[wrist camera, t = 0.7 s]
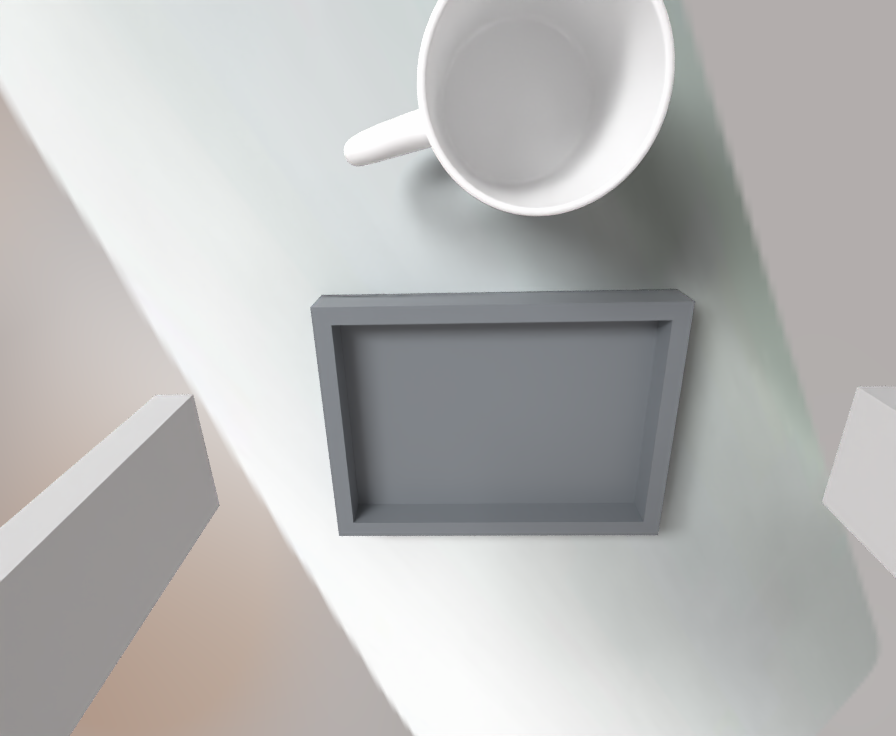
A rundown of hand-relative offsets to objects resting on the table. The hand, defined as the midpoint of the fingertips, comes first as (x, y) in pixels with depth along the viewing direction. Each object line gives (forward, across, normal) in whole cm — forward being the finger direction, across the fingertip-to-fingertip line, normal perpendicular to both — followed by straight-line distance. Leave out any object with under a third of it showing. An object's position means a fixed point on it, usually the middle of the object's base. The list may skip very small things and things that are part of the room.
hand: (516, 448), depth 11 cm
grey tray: (+20, +1, -10) cm, 22 cm away
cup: (+20, 0, +7) cm, 22 cm away
